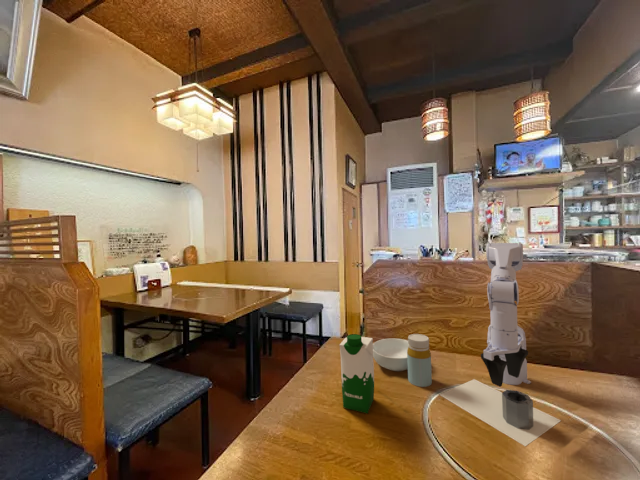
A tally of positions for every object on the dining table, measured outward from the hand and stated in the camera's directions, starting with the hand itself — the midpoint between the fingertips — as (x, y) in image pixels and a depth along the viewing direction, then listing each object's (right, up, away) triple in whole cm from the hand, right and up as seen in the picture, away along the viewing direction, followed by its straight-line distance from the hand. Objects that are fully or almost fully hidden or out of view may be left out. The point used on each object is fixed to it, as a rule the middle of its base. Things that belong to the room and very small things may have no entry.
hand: (505, 380), depth 69 cm
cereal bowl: (-20, -10, +28) cm, 36 cm away
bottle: (-16, -10, +16) cm, 25 cm away
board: (-1, -9, +2) cm, 10 cm away
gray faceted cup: (+1, -8, -4) cm, 9 cm away
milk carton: (-37, -11, +8) cm, 39 cm away
